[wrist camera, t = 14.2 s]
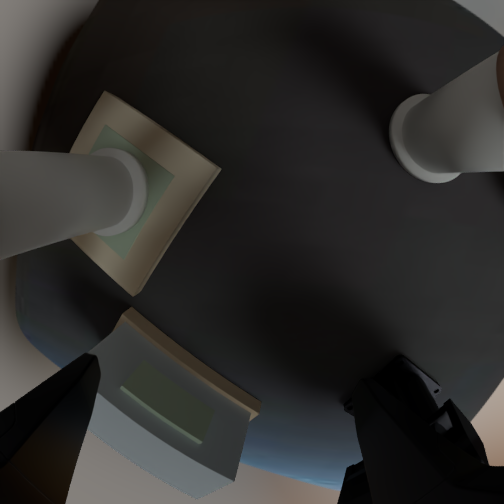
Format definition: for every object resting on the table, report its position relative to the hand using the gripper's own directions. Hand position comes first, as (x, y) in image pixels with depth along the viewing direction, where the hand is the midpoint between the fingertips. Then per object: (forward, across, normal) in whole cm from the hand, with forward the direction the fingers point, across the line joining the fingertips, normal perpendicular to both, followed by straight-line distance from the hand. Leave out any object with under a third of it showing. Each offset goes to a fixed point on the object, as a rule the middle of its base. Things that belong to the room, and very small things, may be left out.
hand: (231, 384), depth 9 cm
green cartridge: (+13, +9, -3) cm, 16 cm away
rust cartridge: (+11, -12, -10) cm, 19 cm away
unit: (+11, +3, +12) cm, 16 cm away
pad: (+14, +9, -2) cm, 17 cm away
